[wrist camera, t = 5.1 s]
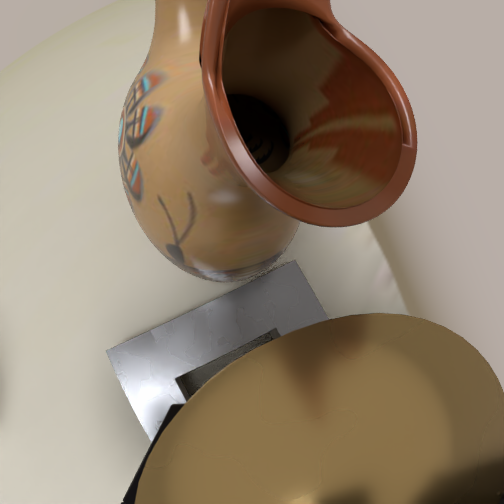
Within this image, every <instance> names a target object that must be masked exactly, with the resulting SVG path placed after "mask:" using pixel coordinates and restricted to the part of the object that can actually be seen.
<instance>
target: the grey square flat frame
mask: <svg viewBox="0 0 504 504" xmlns="http://www.w3.org/2000/svg"><path fill="white" fill-rule="evenodd" d="M325 320H329V319H328V317H327V315H326V313H325V312H324V310H323V308H322V306H321V304H320V303H319V301H318V299H317V297H316V296H315V294H314V292H313V290H312V289H311V287H310V285H309V283H308V282H307V280H306V278H305V276H304V275H303V273H302V271H301V270H300V268H299V266H298V264H297V263H296V261H295V260H294V261H292V262H290V263H288V264H286V265H284V266H282V267H280V268H278V269H276V270H274V271H272V272H270V273H268V274H266V275H264V276H262V277H260V278H258V279H256V280H254V281H252V282H250V283H248V284H246V285H243V286H241V287H239V288H237V289H235V290H233V291H231V292H229V293H227V294H225V295H223V296H221V297H219V298H217V299H215V300H213V301H211V302H209V303H207V304H205V305H202V306H200V307H198V308H196V309H194V310H192V311H190V312H188V313H186V314H184V315H182V316H179V317H177V318H175V319H173V320H171V321H169V322H167V323H165V324H163V325H160V326H158V327H156V328H154V329H152V330H150V331H148V332H146V333H143V334H141V335H139V336H137V337H135V338H133V339H130V340H128V341H126V342H124V343H122V344H120V345H117V346H115V347H113V348H111V349H109V350H107V351H106V353H107V355H108V357H109V360H110V362H111V364H112V366H113V368H114V371H115V373H116V375H117V377H118V379H119V381H120V384H121V386H122V388H123V390H124V392H125V394H126V396H127V398H128V400H129V402H130V404H131V406H132V408H133V410H134V412H135V413H136V415H137V417H138V419H139V421H140V423H141V425H142V426H143V428H144V430H145V432H146V434H147V435H148V437H149V439H150V441H151V442H152V441H153V439H154V437H155V435H156V433H157V431H158V429H159V427H160V425H161V423H162V421H163V419H164V417H165V415H166V413H167V411H168V409H169V407H170V406H171V405H172V404H179V403H186V402H187V401H188V400H189V399H190V396H189V394H188V392H187V390H186V388H185V386H184V385H183V383H182V381H181V379H180V376H182V375H184V374H186V373H188V372H190V371H192V370H195V369H197V368H199V367H201V366H203V365H205V364H207V363H209V362H211V361H213V360H215V359H217V358H219V357H221V356H223V355H225V354H227V353H229V352H231V351H233V350H235V349H237V348H239V347H241V346H243V345H245V344H247V343H249V342H251V341H253V340H255V339H256V338H258V337H260V336H262V335H264V334H266V333H268V332H269V333H270V335H271V337H272V338H273V340H274V339H277V338H279V337H281V336H283V335H285V334H287V333H289V332H292V331H294V330H297V329H300V328H303V327H306V326H309V325H312V324H315V323H318V322H321V321H325Z"/></svg>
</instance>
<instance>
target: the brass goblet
mask: <svg viewBox="0 0 504 504" xmlns="http://www.w3.org/2000/svg"><path fill="white" fill-rule="evenodd" d="M503 491H504V392H503V389H502V387H501V385H500V382H499V380H498V378H497V376H496V375H495V373H494V372H493V370H492V368H491V367H490V365H489V364H488V362H487V361H486V360H485V359H484V357H483V356H482V355H481V354H480V353H479V352H478V350H477V349H476V348H474V347H473V346H472V345H471V344H470V343H468V342H467V341H466V340H465V339H464V338H463V337H461V336H459V335H457V334H456V333H454V332H453V331H451V330H449V329H447V328H446V327H444V326H441V325H438V324H436V323H433V322H431V321H428V320H425V319H421V318H416V317H412V316H407V315H401V314H385V313H373V314H360V315H349V316H345V317H340V318H335V319H330V320H325V321H321V322H318V323H315V324H312V325H309V326H306V327H303V328H300V329H297V330H294V331H292V332H289V333H287V334H285V335H283V336H281V337H279V338H277V339H274V340H272V341H270V342H268V343H266V344H264V345H261V346H259V347H257V348H255V349H253V350H251V351H250V352H248V353H246V354H245V355H243V356H241V357H240V358H238V359H236V360H235V361H233V362H231V363H230V364H228V365H227V366H226V367H225V368H223V369H222V370H221V371H219V372H218V373H217V374H215V375H214V376H213V377H211V378H210V379H209V380H208V381H207V382H206V383H205V384H204V385H203V386H202V387H201V388H200V389H199V390H198V391H197V392H196V393H195V394H194V395H193V396H192V397H191V398H190V399H189V400H188V401H187V402H186V403H185V404H184V406H183V407H182V408H181V409H180V411H179V412H178V413H177V414H176V416H175V417H174V418H173V419H172V421H171V422H170V423H169V425H168V426H167V427H166V428H165V430H164V431H163V432H162V434H161V436H160V438H159V439H158V441H157V443H156V444H155V446H154V448H153V450H152V451H151V453H150V455H149V457H148V459H147V462H146V464H145V467H144V470H143V472H142V475H141V477H140V480H139V484H138V489H137V494H136V499H135V504H499V502H500V500H501V497H502V494H503Z"/></svg>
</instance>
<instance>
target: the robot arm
mask: <svg viewBox="0 0 504 504" xmlns="http://www.w3.org/2000/svg"><path fill="white" fill-rule="evenodd" d="M184 404H185V403H179V404H172V405H171V406H170V407H169V409H168V411H167V413H166V415H165V417H164V419H163V421H162V423H161V425H160V427H159V429H158V431H157V433H156V435H155V437H154V439H153V441H152V443H151V445H150V447H149V449H148V451H147V453H146V455H145V457H144V459H143V461H142V463H141V465H140V467H139V469H138V471H137V473H136V475H135V477H134V479H133V481H132V483H131V485H130V487H129V489H128V491H127V492H126V494H125V496H124V498H123V502H121V504H135V499H136V494H137V489H138V484H139V480H140V477H141V475H142V472H143V470H144V467H145V464H146V462H147V459H148V457H149V455H150V453H151V451H152V450H153V448H154V446H155V444H156V443H157V441H158V439H159V438H160V436H161V434H162V432H163V431H164V430H165V428H166V427H167V426H168V425H169V423H170V422H171V421H172V419H173V418H174V417H175V416H176V414H177V413H178V412H179V411H180V409H181V408H182V407H183V406H184ZM499 504H504V491H503V494H502V497H501V500H500V502H499Z"/></svg>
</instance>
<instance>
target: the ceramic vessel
mask: <svg viewBox="0 0 504 504" xmlns="http://www.w3.org/2000/svg"><path fill="white" fill-rule="evenodd" d="M118 154H119V165H120V171H121V177H122V181H123V185H124V189H125V192H126V196H127V198H128V201H129V204H130V206H131V209H132V211H133V213H134V215H135V217H136V219H137V221H138V223H139V225H140V226H141V228H142V229H143V231H144V233H145V234H146V235H147V237H148V238H149V240H150V241H151V242H152V243H153V245H154V246H155V247H156V248H157V249H158V250H159V251H160V252H161V253H162V254H163V255H164V256H165V257H166V258H167V259H168V260H169V261H171V262H172V263H173V264H175V265H176V266H177V267H179V268H180V269H182V270H184V271H185V272H187V273H189V274H191V275H194V276H196V277H199V278H202V279H205V280H209V281H216V282H233V281H239V280H243V279H246V278H249V277H252V276H254V275H256V274H258V273H260V272H261V271H263V270H265V269H266V268H267V267H269V266H270V265H271V264H272V263H273V262H275V261H276V260H277V259H278V258H279V256H280V255H281V254H282V253H283V252H284V250H285V249H286V248H287V246H288V245H289V243H290V242H291V240H292V239H293V237H294V235H295V233H296V231H297V229H298V227H299V224H300V222H304V223H307V224H312V225H316V226H321V227H347V226H353V225H357V224H361V223H364V222H367V221H369V220H371V219H373V218H375V217H377V216H379V215H380V214H382V213H383V212H385V211H386V210H387V209H388V208H390V207H391V206H392V205H393V204H394V203H395V202H396V201H397V199H398V198H399V196H401V194H402V193H403V191H404V189H405V188H406V186H407V184H408V182H409V180H410V177H411V175H412V172H413V169H414V165H415V160H416V154H417V131H416V124H415V119H414V115H413V111H412V108H411V105H410V103H409V100H408V98H407V95H406V93H405V91H404V89H403V87H402V86H401V84H400V82H399V81H398V79H397V78H396V76H395V75H394V73H393V72H392V71H391V69H390V68H389V67H388V66H387V64H386V63H385V62H384V61H383V60H382V59H381V58H380V57H379V56H378V55H377V54H376V53H375V52H374V51H373V50H372V49H370V48H369V47H368V46H367V45H366V44H364V43H363V42H362V41H361V40H359V39H358V38H356V37H355V36H354V35H353V34H351V33H350V32H349V31H348V30H346V29H345V28H344V27H343V26H342V25H341V24H339V22H338V21H337V20H336V19H335V17H334V15H333V13H332V10H331V5H330V0H155V26H154V33H153V38H152V42H151V46H150V49H149V52H148V55H147V57H146V59H145V62H144V64H143V66H142V68H141V69H140V71H139V73H138V75H137V76H136V78H135V80H134V81H133V83H132V85H131V87H130V89H129V92H128V94H127V97H126V100H125V103H124V106H123V110H122V114H121V119H120V126H119V137H118Z"/></svg>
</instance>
